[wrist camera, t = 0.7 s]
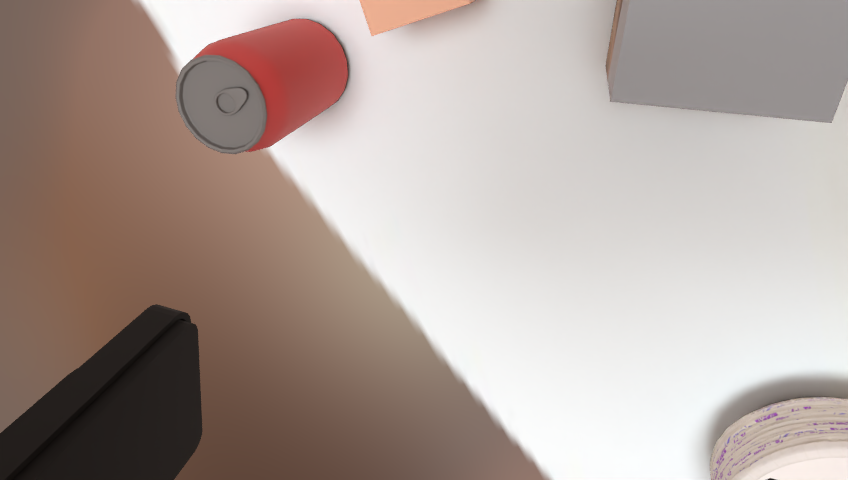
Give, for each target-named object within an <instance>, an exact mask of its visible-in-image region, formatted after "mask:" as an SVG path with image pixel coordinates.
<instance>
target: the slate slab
mask: <svg viewBox="0 0 848 480" xmlns="http://www.w3.org/2000/svg"><path fill="white" fill-rule="evenodd" d="M847 81H848V0H623V1H622V6H621V11H620V17H619V22H618V27H617V33H616V38H615V43H614V49H613V54H612V60H611V65H610V70H609V76H608V86H609V94H610V102H620V103H631V104H641V105H651V106H662V107H672V108H682V109H693V110H703V111H713V112H724V113H734V114H744V115H755V116H765V117H775V118H786V119H796V120H806V121H816V122H827V123H832V120H833V117H834V115H835V112H836V110H837V107H838V104H839V102H840V99H841V97H842V94H843V91H844V89H845V86H846V84H847Z"/></svg>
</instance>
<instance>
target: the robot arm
mask: <svg viewBox="0 0 848 480" xmlns="http://www.w3.org/2000/svg"><path fill="white" fill-rule="evenodd" d="M201 435H202V415H201V391H200V370H199V347H198V329H197V326H196V325H195V324H193V323H191V319H190V316H189V315H188V313H185V312H182V311H178V310H174V309H171V308H167V307H164V306H161V305H152V306H150V307H149V308H147V309H146V310H145V311H144V312H143V313H141V315H139V316H138V317H137V318H136V319H135V320H133V321H132V322H131V323H130V324H129V325H128V326H127V327H125V328H124V329H123V330H122V331H121V332H120V333H118V334H117V335H116V336H115V337H114V338H113V339H112V340H110V341H109V342H108V343H107V344H106V345H105V346H104V347H102V348H101V349H100V350H99V351H98V352H97V353H95V354H94V355H93V356H92V357H91V358H90V359H89V360H87V361H86V362H85V363H84V364H83V365H82V366H80V367H79V368H78V369H76V370H74V371H73V372H72V373H70V374H69V375H67V376H66V377H65V378H64V379H63V380H62V381H60V382H59V383H58V384H57V385H56V386H55V387H54V388H52V389H51V390H50V391H49V392H48V393H47V394H45V395H44V396H43V397H42V398H41V399H40V400H38V401H37V402H36V403H35V404H34V405H33V406H32V407H30V408H29V409H28V410H27V411H26V412H25V413H23V414H22V415H21V416H20V417H19V418H18V419H16V420H15V421H14V422H13V423H12V424H11V425H10V426H8V427H7V428H6V429H5V430H4V431H3V432H1V433H0V480H174V479H175V478H176V476H177V475H178V474H179V472H180V471H181V469H182V468H183V467H184V465H185V464H186V463H187V461H188V460H189V458H190V457H191V456H192V454H193V453H194V452H195V450H196V448H197V446H198V444H199V442H200V439H201ZM766 480H776V479H772V478H769V479H766Z"/></svg>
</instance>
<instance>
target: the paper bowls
mask: <svg viewBox="0 0 848 480" xmlns="http://www.w3.org/2000/svg"><path fill="white" fill-rule="evenodd" d="M710 471H711V474H710V475H711V480H766V479H769V478H772V479H776V480H848V399H840V398H833V397H812V398H809V397H808V398H797V399H791V400H786V401H782V402H778V403H774V404H770V405H768V406H765V407H762V408H761V409H758V410H755V411H753V412H751V413H749V414H747V415H745V416H743V417H742V418H740V419H739V420H738V421H736V422H734V423H733V424H732V425H731V426H729V427H728V428H727V429H726V430H725V432H723V434H722V435H721V437H720V438H719V439H718V440H717V442H716V444H715V447H714V450H713V453H712V456H711V460H710Z"/></svg>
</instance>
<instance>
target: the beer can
mask: <svg viewBox="0 0 848 480" xmlns="http://www.w3.org/2000/svg"><path fill="white" fill-rule="evenodd" d="M347 78H348V69H347V60H346V57H345V54H344V52H343V49H342V46H341V45H340V43H339V42H338V41H337V39H336V38H335V37H334V35H333V34H332V33H331V32H330V31H328V30H327V29H326V28H325V27H323V26H322V25H321V24H319V23H316V22H313V21H311V20H308V19H291V20H288V21H284V22H281V23H277V24H274V25H270V26H267V27H263V28H260V29H256V30H253V31H249V32H246V33H242V34H239V35H235V36H232V37H228V38H225V39H222V40H219V41H216V42H214V43H211V44H209V45H207V46H206V47H205V48H204V49H203V50H202V51H201V52H199V53H198V54H197V55H196V56H195V57H194V58H193V59H192V60H191V61H190V62H189V63H188V64H187V65H186V66H184V67H183V68H182V70H181V72H180V75H179V77H178V79H177V82H176V101H177V106H178V110H179V113H180V115H181V117H182V119H183V121H184V123H185V125H186V127H187V128H188V129H189V130H190V131H191V133H192V134H193V135H194V136H195V138H196V139H198V140H199V141H200V142H202V143H203V144H204V145H206V146H207V147H208V148H211V149H213V150H216V151H218V152H221V153H229V154H237V153H241V152H244V151H246V152H247V151H248V152H251V151H256V150H260V149H263V148H267V147H270V146H272V145H273V144H275V143H276V142H278V141H279V140H281V139H282V138H284V137H285V136H287V135H288V134H290V133H291V132H293V131H294V130H296V129H297V128H299V127H300V126H302V125H303V124H305V123H306V122H308V121H309V120H311V119H312V118H314V117H315V116H317V115H318V114H320V113H321V112H323V111H324V110H326V109H327V108H329V107H330V106H331V105H333V104H334V103H335V102H336V101H338V99H339V98H340V96H341V95H342V93H343V91H344V90H345V86H346V82H347Z"/></svg>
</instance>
